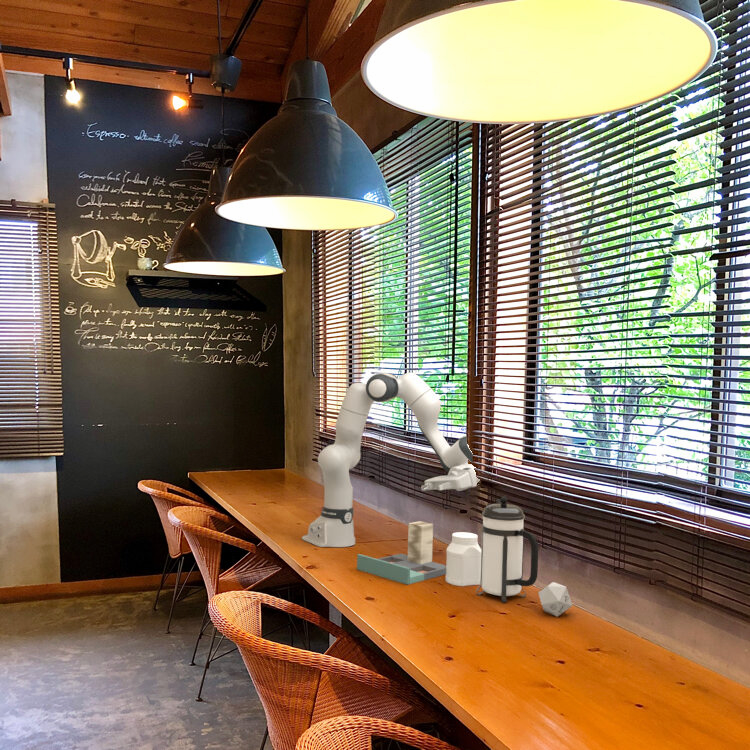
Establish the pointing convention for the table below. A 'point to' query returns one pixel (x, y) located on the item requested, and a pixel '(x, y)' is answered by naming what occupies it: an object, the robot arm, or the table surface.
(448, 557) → the jar
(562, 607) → the die
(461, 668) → the table surface
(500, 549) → the coffee press
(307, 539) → the robot arm
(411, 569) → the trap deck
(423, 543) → the maple block
